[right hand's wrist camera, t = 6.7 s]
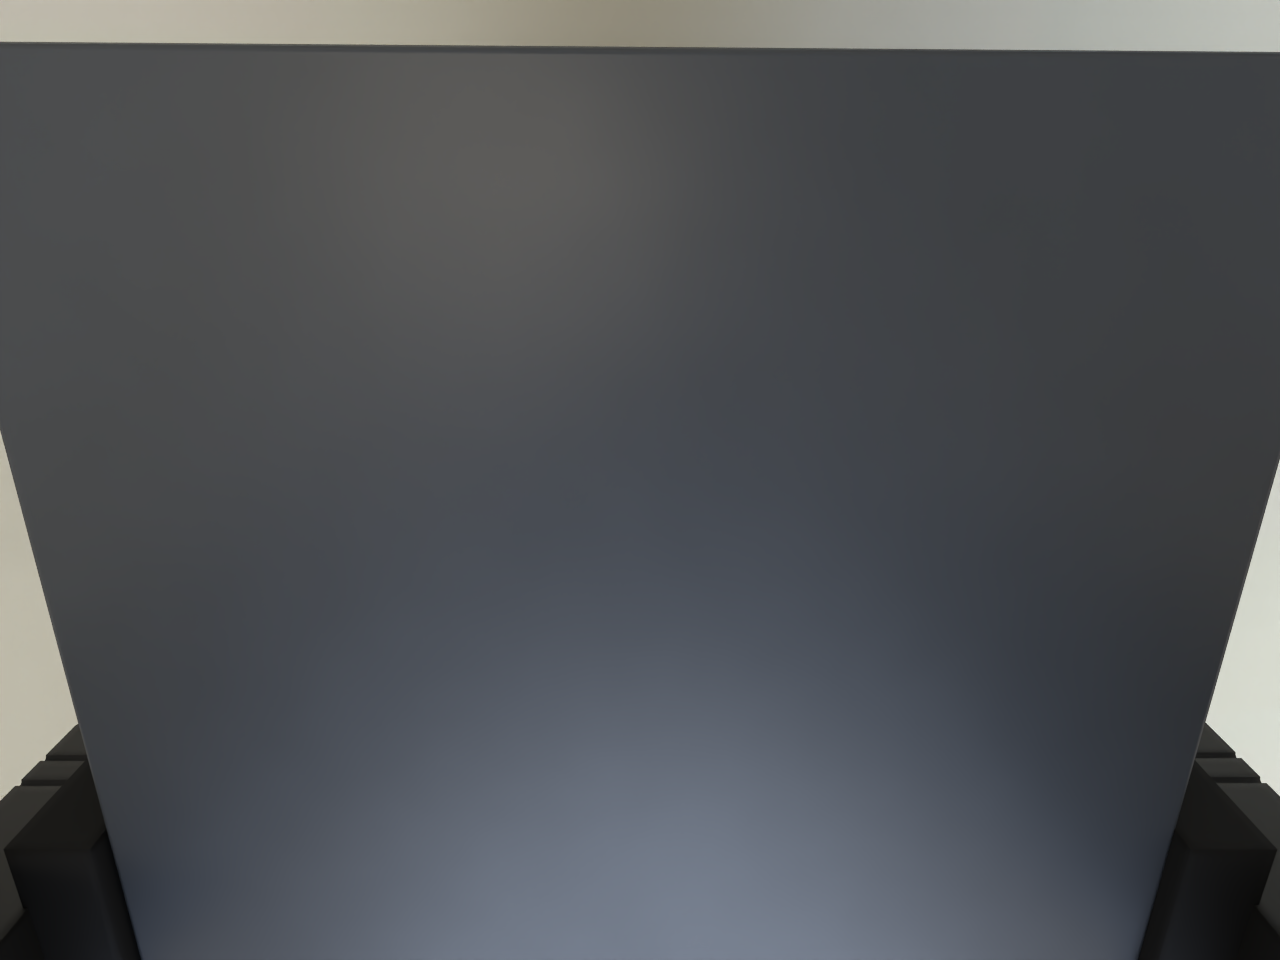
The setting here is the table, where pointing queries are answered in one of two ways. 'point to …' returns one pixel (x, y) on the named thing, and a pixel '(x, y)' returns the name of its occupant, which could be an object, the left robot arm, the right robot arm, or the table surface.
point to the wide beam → (639, 484)
